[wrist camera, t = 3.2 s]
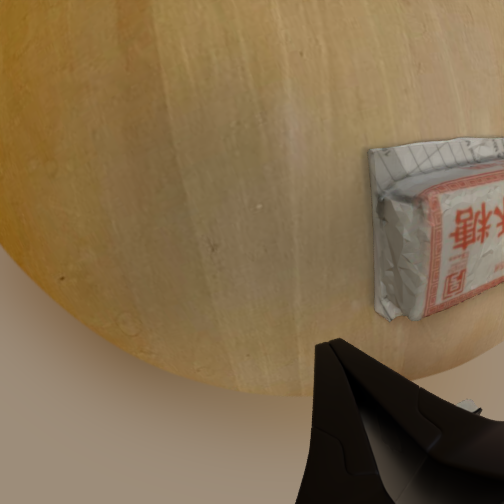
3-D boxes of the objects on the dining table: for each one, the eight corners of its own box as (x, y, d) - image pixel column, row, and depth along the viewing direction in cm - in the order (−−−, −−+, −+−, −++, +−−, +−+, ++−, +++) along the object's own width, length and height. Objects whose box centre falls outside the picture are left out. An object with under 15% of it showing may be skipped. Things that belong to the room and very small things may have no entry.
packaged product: (406, 362, 14) (416, 160, 10) (369, 312, 18) (359, 147, 14) (566, 269, 14) (582, 146, 10) (530, 246, 19) (537, 134, 15)
